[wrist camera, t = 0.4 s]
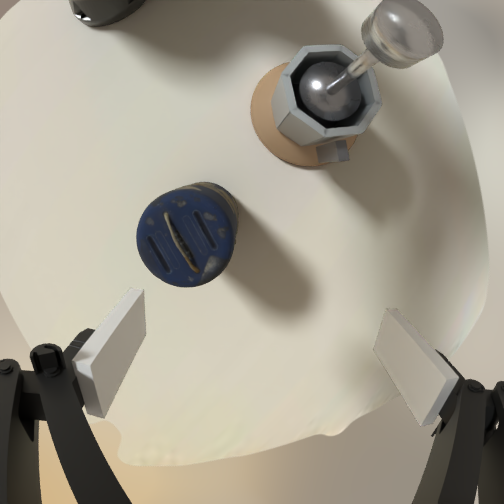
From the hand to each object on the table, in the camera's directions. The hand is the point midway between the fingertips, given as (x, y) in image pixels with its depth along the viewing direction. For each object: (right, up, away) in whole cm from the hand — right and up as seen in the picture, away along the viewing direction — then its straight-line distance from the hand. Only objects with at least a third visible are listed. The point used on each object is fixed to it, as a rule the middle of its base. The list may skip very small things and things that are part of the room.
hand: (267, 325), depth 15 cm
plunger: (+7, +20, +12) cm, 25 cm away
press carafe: (+7, +24, +24) cm, 34 cm away
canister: (-7, +9, +28) cm, 30 cm away
